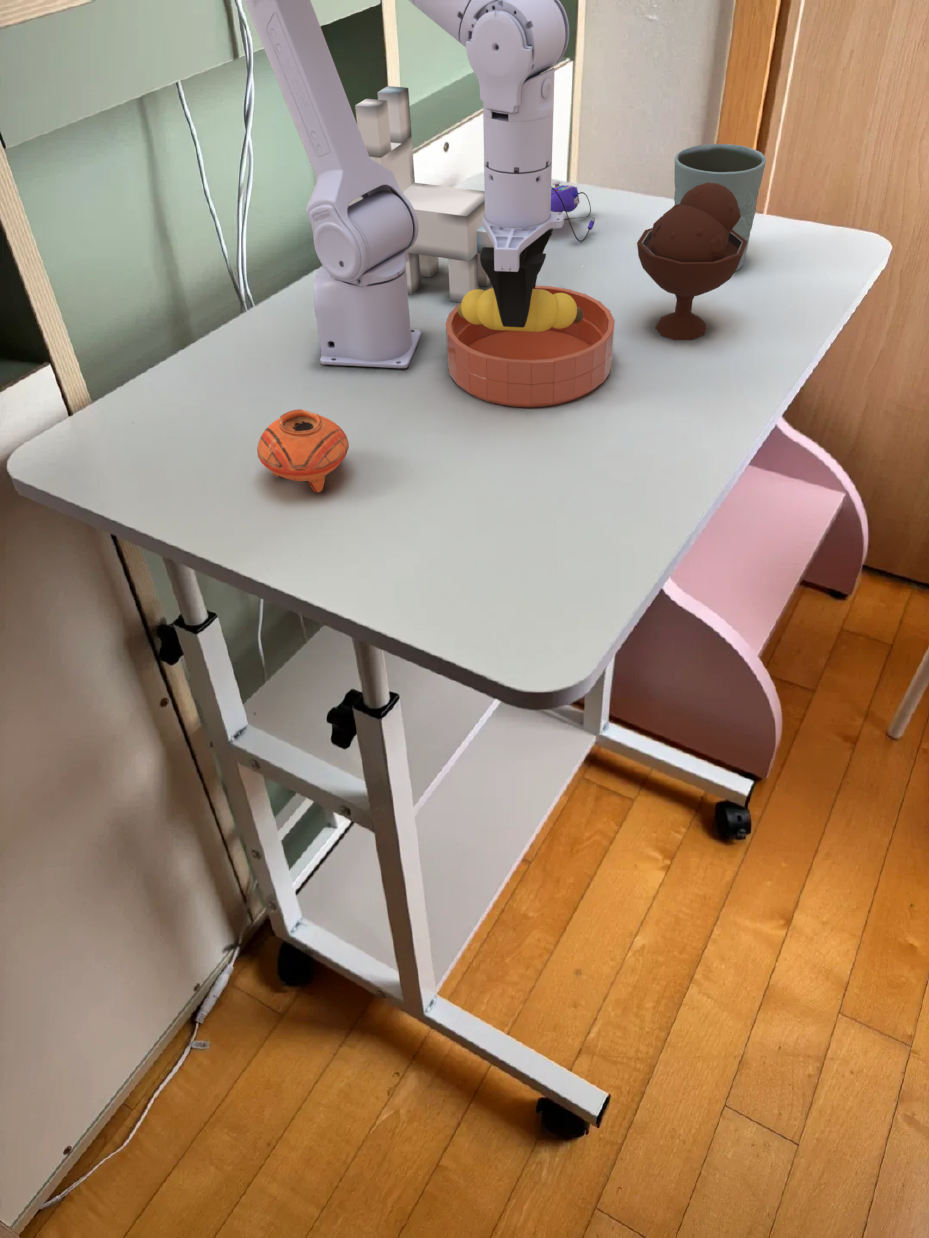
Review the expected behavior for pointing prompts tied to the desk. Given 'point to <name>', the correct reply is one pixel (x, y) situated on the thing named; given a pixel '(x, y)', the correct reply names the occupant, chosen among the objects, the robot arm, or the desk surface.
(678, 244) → the ice cream bowl
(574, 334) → the bowl
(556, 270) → the desk surface
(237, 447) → the desk surface
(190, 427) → the desk surface
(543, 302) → the banana
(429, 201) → the toy llama
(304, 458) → the pot
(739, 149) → the grey green cup
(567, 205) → the game controller
